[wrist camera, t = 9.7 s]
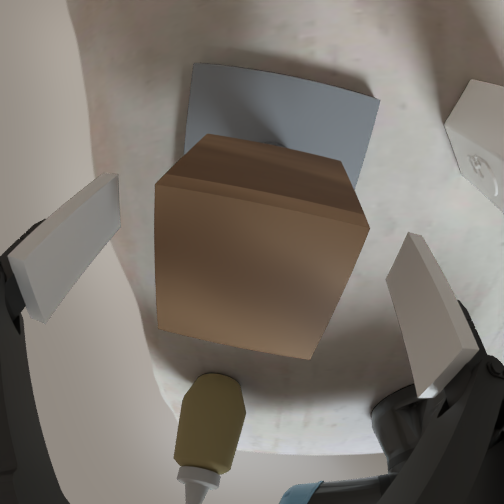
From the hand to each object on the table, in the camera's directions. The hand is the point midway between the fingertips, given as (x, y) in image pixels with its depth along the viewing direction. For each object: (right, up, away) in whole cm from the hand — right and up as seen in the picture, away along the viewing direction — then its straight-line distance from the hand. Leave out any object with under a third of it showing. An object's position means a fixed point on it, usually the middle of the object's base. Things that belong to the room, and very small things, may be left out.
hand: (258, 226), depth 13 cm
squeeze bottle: (-5, -18, +26) cm, 32 cm away
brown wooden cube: (0, +1, +1) cm, 2 cm away
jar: (+18, +8, +5) cm, 20 cm away
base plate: (+1, +6, +8) cm, 10 cm away
